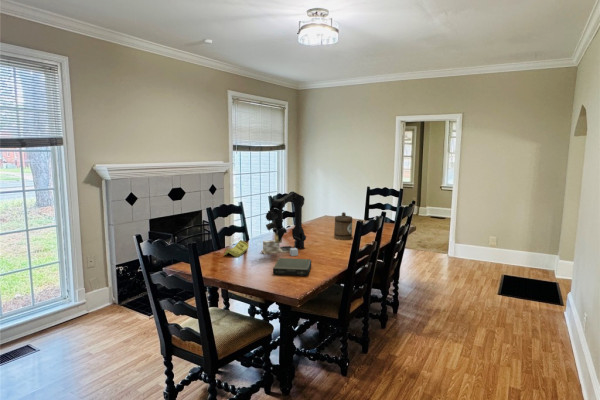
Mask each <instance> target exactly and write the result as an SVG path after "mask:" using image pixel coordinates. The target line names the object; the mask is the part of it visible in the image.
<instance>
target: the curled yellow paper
mask: <svg viewBox="0 0 600 400" xmlns="http://www.w3.org/2000/svg"><path fill="white" fill-rule="evenodd" d="M248 249H249V244H248V243H247V242H246V241H244V240H239V241H238V242H237V243H236V244H235V246H234V247H232V248H227V249H226V250H225V252H224V253H223V256H225V255H226V256H227V255H229V254H230V255H231V256H233V257H234V258H239V257H240V256H242V255H243V254H244V253H245V252H246V251H247V250H248Z"/></svg>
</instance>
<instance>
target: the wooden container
mask: <svg viewBox="0 0 600 400" xmlns="http://www.w3.org/2000/svg"><path fill="white" fill-rule="evenodd" d="M333 233H334V235H333V238H334V239H335V238H336V239H335V240H338V239H340V240H339V241H349V239H350V240H352V238H353V217H352V216H350V215H346V212H345V211H343V212H341V215H336V216H334V231H333Z"/></svg>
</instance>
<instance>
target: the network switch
mask: <svg viewBox="0 0 600 400" xmlns="http://www.w3.org/2000/svg"><path fill="white" fill-rule="evenodd" d="M311 267H312V259H309V258H288V257H287V258H286V257H285V258H284V257H283V258H282V257H278V259H277V260H276V262H275V264H274V266H273V267H272V273H273V275H274V276H301V277H307V276H309V274H310V270H311Z"/></svg>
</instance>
